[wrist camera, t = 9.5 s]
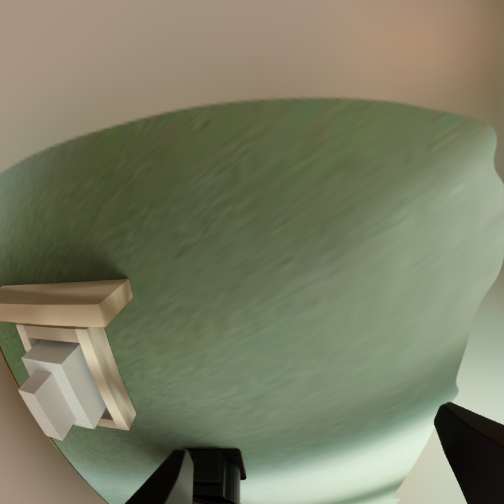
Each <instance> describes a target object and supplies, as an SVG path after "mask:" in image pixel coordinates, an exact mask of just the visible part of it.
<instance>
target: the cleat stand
mask: <svg viewBox="0 0 504 504" xmlns="http://www.w3.org/2000/svg"><path fill="white" fill-rule="evenodd" d="M132 298H133V294H132V290H131V285H130V280H129V279H117V280H101V281H85V282H68V283H49V284H29V285H7V286H2V287H0V321H6V322H16V323H18V324H16V327H17V329H18V332H19V335H20V337H21V340H22V343H23V345H24V348H25V350H26V352H28V351H29V350H30V349H31V348H33V347H34V346H35V345H36V344H37V343H38V342H39V341H41V340H42V339H44V340H53V341H64V342H76V343H80V346H81V348H82V351H83V354H84V356H85V359H86V361H87V364H88V366H89V369H90V371H91V374H92V376H93V378H94V381H95V383H96V385H97V387H98V390H99V392H100V394H101V396H102V398H103V400H104V402H105V404H106V406H107V407H106V409H105V411H104V413H103V414H102V416H101V418H100V420H99V422H98V424H97V425H98V426H104V427H109V428H115V429H121V430H128V431H129V430H130V428H131V425H132V423H133V421H134V418H135V416H136V412H135V410H134V407H133V405H132V403H131V400H130V398H129V396H128V393H127V391H126V389H125V386H124V384H123V381H122V379H121V376H120V373H119V371H118V368H117V365H116V363H115V360H114V357H113V354H112V351H111V348H110V345H109V342H108V339H107V336H106V333H105V330H104V327H106V326H107V325H108V324H109V322H110V321H111V320H112V319H113V318H114V317H115V316H116V315H117V314H118V313H119V312H120V311H121V310H122V309H123V308H124V307H125V306H126V304H127V303H128V302H129V301H130V300H131V299H132Z"/></svg>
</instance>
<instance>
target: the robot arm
mask: <svg viewBox="0 0 504 504" xmlns="http://www.w3.org/2000/svg"><path fill="white" fill-rule="evenodd" d="M434 425H435V428H436V431H437V433H438V436H439V439H440V441H441V445H442V447H443V450H444V453H445V455H446V457H447V459H448V462H449V464H450V466H451V468H452V470H453V472H454V474H455V477H456V479H457V481H458V483H459V485H460V487H461V490H462V492H463V495H464V497H465V499H466V502H467V504H504V425H503V424H500V423H498V422H495V421H493V420H491V419H488V418H486V417H483V416H481V415H479V414H476V413H474V412H472V411H470V410H467V409H465V408H463V407H461V406H458V405H456V404H454V403H452V402H447V403H445V404H443V405H441V406H440V407H439V409H438V412H437V414H436V416H435V419H434ZM245 479H246V472H245V468H244V463H243V459H242V454H241V451H240V450H195V449H174V450H173V451H172V452H171V454H170V455H169V456H168V457H167V458H166V459H165V460H164V462H163V463H162V464H161V465H160V466H159V467H158V468H157V469H156V471H155V472H154V473H153V474H152V475H151V476H150V477H149V478H148V479H147V480H146V482H145V483H144V484H143V485H142V486H141V487H140V488H139V489H138V490H137V491H136V492H135V493H134V494H133V495H132V497H131V498H130V499H129V500H128V501H127V502H126V503H125V504H240V480H245Z"/></svg>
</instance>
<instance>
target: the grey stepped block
mask: <svg viewBox="0 0 504 504" xmlns="http://www.w3.org/2000/svg"><path fill="white" fill-rule="evenodd" d="M21 358H22V360H23V362H24V364H25V367H26V369H27V371H28V373H29V375H30V377H29V378H28V379H27V380H26V381H25V383H24V384H23V385H22V386H21V387H20V388H19V389H18V391H19V393H20V394H21V396H22V398H23V400H24V401H25V403H26V405H27V406H28V408H29V410H30V411H31V413H32V415H33V416H34V418H35V419H36V421H37V422H38V424H39V425H40V427H41V428H42V430H43V431H44V433H45V434H46V435H47V436H49V437H52V438H55V439H58V440H61V441H63V440H64V438H65V436H66V435H67V433H68V431H69V430H70V428H71V427H72V425H77V426H81V427H86V428H90V429H95V427H96V425H97V424H98V422H99V420H100V418H101V416H102V414H103V413H104V411H105V409H106V407H107V406H106V404H105V402H104V400H103V398H102V396H101V394H100V392H99V390H98V387H97V385H96V383H95V381H94V378H93V376H92V374H91V371H90V369H89V366H88V364H87V361H86V359H85V356H84V354H83V351H82V348H81V346H80V343H76V342H64V341H53V340H44V339H42V340H41V341H39V342H38V343H37V344H36V345H35V346H34V347H33V348H31V349H30V350H29V351H28V352H27V353H26V354H25V355H24V356H23V357H21Z"/></svg>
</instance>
